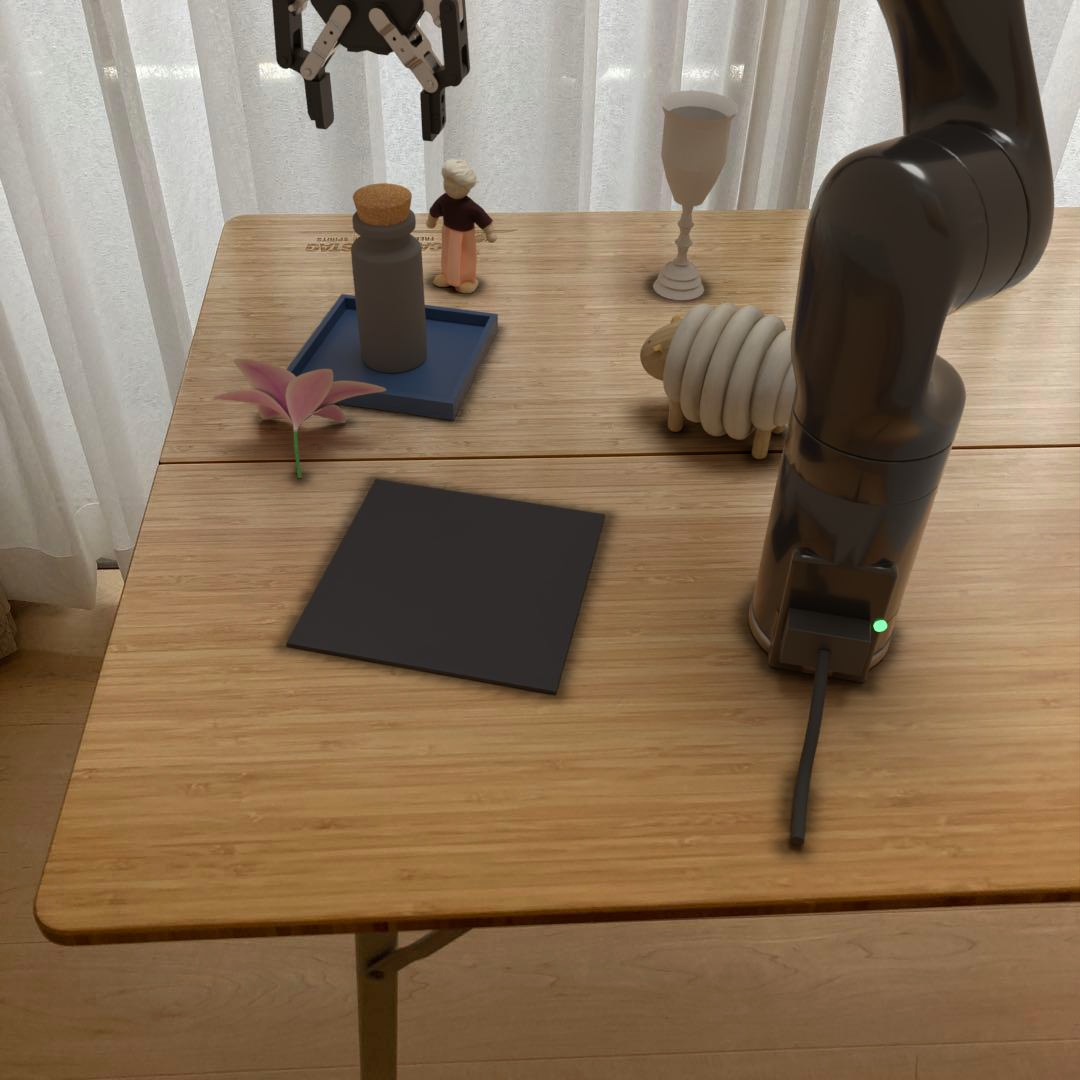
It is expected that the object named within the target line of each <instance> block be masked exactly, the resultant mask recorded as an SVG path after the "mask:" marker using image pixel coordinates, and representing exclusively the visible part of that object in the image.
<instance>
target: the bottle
mask: <svg viewBox="0 0 1080 1080" xmlns="http://www.w3.org/2000/svg"><path fill="white" fill-rule="evenodd" d="M412 199H413V194H412V191H410V189H408V188H407V187H405V186H403V185H400V184H395V183H386V182H385V183H383V182H382V183H381V182H380V183H379V182H378V183H373V184H368V185H364V186H362V187H360V188H358V189H357V190H355V191H354V193H353V194H352V200H353V204H354V207H355V210H356V211H355V212H354V213H353V214H352V217H351V219H352V229H353V231H354V232H355V234H357V235H358V237H357V238H356V239H355V240H354V241H353V243H351V247H350V254H351V268H352V279H353V289H354V296H355V300H356V310H357V320H358V330H359V339H360V348H361V356H362V360H363V362H364V364H365V365H366V366H368V367H369V368H371V369H373V370H375V371H379V372H384V373H400V372H406V371H409V370H412V369H415V368H417V367H418V366H420V365H421V364H422V363H423V362H424V361H425V359H426V357H427V340H426V320H425V305H426V304H425V285H424V267H423V252H422V251H423V250H422V244H421V242H420V241H419V239H417V237H416V236H414V235H412V234H411V233H413V232H414V230H415V229H416V226H417V221H416V220H417V219H416V214H415V213H414V211H413V210H412V209H411V206H412Z"/></svg>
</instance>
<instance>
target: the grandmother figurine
mask: <svg viewBox="0 0 1080 1080" xmlns="http://www.w3.org/2000/svg"><path fill="white" fill-rule="evenodd" d="M440 172H441V173H440V174H441V176H442V178H443V190H444V193H442V194H441V195H440V196H439V197H437V198H436V199H435V200H434V202H433V203H432V205H431V206H430V208H429V211H428V214H427V215H428V216H427V219H426V221H425V226H426V227H427V228H428V229H434V228H436V226H437V223H438V221H439V219H440V218H441V217H442V226H441V255H440V258H441V259H440V271H441V273H438V274H436V275H435V276H434V278H433V280H432V281H433V282H432V283H433V284H434V286H437V287H440V288H446V287H447V288H448V287H450V286H452V287H455V288H454V289H455V291H456V292H458V293H462V294H472V293H473V292H475V291H476V289H477V288H478V286H479V280H478V279H477V263H478V252H477V240H476V239H477V238H476V226H477V227H478V228H479V229H481V230H482V232H483V233H484V234H485V239H486V241H487V243H490V244H493V243H495V242H496V241H497V239H498V235H497V233H496V232H495V227H494V225H493V221H494V220H493V219H492V217H491V216H490V215H489V214H488V213H487V212H486V210H485V209H484V208H483V207H482V206H480V204H478V202H475V201H474V200H473V198H471V197H470V196H468V194H469V193H470V192H471V190H472V189H473V188H474V187H475V186H476V185H477V184H478V183H479V179H478V176H477V174H476V172H475V171H474V169H473V168H472V166H471V165H469V163H468V162H467V161H466V160H464V159H456V158H450V159H447V160H446V161H445V162H444V163H443V164H442V166H441V171H440ZM475 225H476V226H475Z"/></svg>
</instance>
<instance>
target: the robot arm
mask: <svg viewBox="0 0 1080 1080" xmlns="http://www.w3.org/2000/svg"><path fill="white" fill-rule="evenodd" d="M309 2H310V3H311V5H312V7H313V8H314V10H315V12H316V13H317V14H318V15H319V17H320V18H321V20H322V21H323V23H324V24H325V26H324V27H323V28H322V30H321V32H320V33H319V34H318V37H317V39H316V40H315V41H314V43H313V45H312V46H311V50H310V51H309V50H307V49H305V48H304V47H305V46H304V31H303V30H304V29H303V12H305V11H306V9H307V7H308V3H309ZM876 2H877V5H878V8H879V9H880V11H881V14H882V16H883V19H884V21H885V25H886V28H887V30H888V31H887V32H888V33H889V37H890V39H891V43H892V49H893V54H894V57H895V63H896V69H897V77H898V85H899V92H900V101H901V102H900V103H901V114H902V131H903V132H902V134H903V135H900V136H898V137H894V138H890V139H887V140H883V141H880V142H877V143H874V144H870V145H868V146H864V147H862V148H859V149H857V150H854V151H853V152H850V153H848V154H847V155H844V157H842V158H841V159H840V160H839V161H838V162H836V163H835V164H834V165H833V166H832V167H831V169H830V170H829V171H828V173H827V174H826V175H825V177H824V178H823V180H822V182H821V184H820V185H819V188H818V189H817V192H816V195H815V197H814V199H813V202H812V205H811V209H810V211H809V215H808V218H807V222H806V227H805V228H806V229H805V233H804V238H803V242H802V243H803V244H802V249H801V256H800V265H799V273H798V280H797V287H796V294H795V295H796V296H795V303H794V309H793V310H794V311H793V318H792V326H791V329H792V332H791V359H792V366H793V370H794V376H795V381H796V388H795V394H794V399H793V404H792V409H791V414H790V419H789V423H788V424H787V429H786V435H785V439H784V444H783V447H782V453H781V458H780V463H779V468H778V472H777V477H776V482H775V487H774V491H773V496H772V497H773V498H772V502H771V507H770V512H769V518H768V522H767V527H766V531H765V532H766V533H765V537H764V542H763V546H762V551H761V556H760V560H759V561H760V562H759V566H758V570H757V578H756V582H755V587H754V591H753V593H752V596H751V599H750V604H749V609H748V625H749V628H750V631H751V633H752V635H753V637H754V638H755V640H756V642H757V643H758V644H759V646H760V647H761V648H762V649H763V650H764V651H765V652H766V653H767V655H768V661H767V663H768V665H769V666H770V667H772V668H776V669H782V670H787V671H793V672H799V673H806V674H809V675H814V677H813V686H812V693H811V701H810V706H809V714H808V719H807V725H806V730H805V734H804V735H805V736H804V741H803V745H802V750H801V754H800V760H799V765H798V770H797V774H796V775H797V776H796V783H795V789H794V798H793V805H792V806H793V807H792V818H791V819H792V820H791V828H790V838H789V841H790V843H791V844H792V845H795V846H802V845H804V844H805V838H806V827H807V826H806V825H807V811H808V801H809V800H808V799H809V791H810V784H811V778H812V771H813V767H814V762H815V757H816V752H817V748H818V743H819V738H820V733H821V727H822V720H823V715H824V708H825V707H824V706H825V700H826V692H827V685H828V678H835V679H840V680H846V681H850V682H851V681H852V682H857V683H864V682H866V681H867V677H868V674H869V671H870V669H871V668H873V667H874V666H876V665H877V664H878V663H879V662H881V660H882V659H883V658H884V657H885V655H886V654H887V652H888V650H889V647H890V644H891V641H892V639H893V634H894V629H895V624H896V620H897V617H898V615H899V611H900V608H901V606H902V601H903V598H904V595H905V592H906V589H907V586H908V583H909V579H910V577H911V573H912V570H913V568H914V564H915V561H916V559H917V556H918V553H919V550H920V546H921V542H922V539H923V536H924V533H925V531H926V527H927V525H928V522H929V518H930V516H931V513H932V509H933V506H934V503H935V499H936V498H937V497H936V496H937V493H938V491H939V487H940V485H941V482H942V478H943V477H944V474H945V470H946V467H947V463H948V461H949V457H950V454H951V451H952V449H953V445H954V442H955V440H956V436H957V433H958V430H959V427H960V424H961V421H962V418H963V414H964V410H965V408H966V402H967V401H966V400H967V391H966V386H965V382H964V380H963V378H962V376H961V375H960V373H959V372H958V370H957V369H956V368H955V367H954V366H953V365H952V364H951V363H950V362H949V361H948V360H946V359H945V358H944V357H942V356H940V355H939V354H937V353H938V349H939V343H940V340H941V336H942V333H943V329H944V326H945V323H946V320H947V318H948V316H951V315H953V314H956V313H958V312H960V311H963V310H966V309H968V308H970V307H973V306H975V305H978V304H980V303H983V302H986V301H987V300H990V299H992V298H994V297H997V296H999V295H1002V294H1003V293H1006V292H1007V291H1009V290H1012V289H1013V288H1015V287H1016V286H1017V285H1019V284H1020V283H1021V282H1023V281H1024V280H1025V279H1026V278H1028V277H1029V276H1030V275H1031V273H1032V272H1033V271H1034V270H1035V268H1036V267H1037V266H1038V264H1039V263H1040V261H1041V260H1042V257H1043V255H1044V253H1045V251H1046V249H1047V246H1048V244H1049V242H1050V237H1051V235H1052V229H1053V224H1054V215H1055V186H1054V185H1055V184H1054V173H1053V164H1052V158H1051V151H1050V144H1049V138H1048V133H1047V127H1046V122H1045V117H1044V112H1043V111H1044V110H1043V105H1042V100H1041V99H1042V98H1041V95H1040V88H1039V84H1038V77H1037V72H1036V66H1035V62H1034V56H1033V50H1032V44H1031V38H1030V33H1029V25H1028V19H1027V12H1026V6H1025V0H876ZM271 5H272V6H271V7H272V18H273V33H274V46H275V58H276V63H277V65H278V66H279V67H280V68H281V69H283V70H288V69H291V70H292V71H294V72H296V73H298V74H299V75H300V76H301V77H302V79H303V82H304V83H303V84H304V91H305V92H304V93H305V100H306V102H305V103H306V109H307V114H308V117H309V119H310V121H314V124H315V128H316V129H319V130H328V129H329V127H331V126H332V125H333V123H334V121H335V111H334V102H333V92H332V90H333V89H332V82H331V73H330V72H327V71H326V68H327V66H328V65H329V63H330V62H331V60H332V59H333V57H334V56H335V54H336V53H337V51H338V50H339V48H340V47H341V46H342V47H343V48H345V49H346V51H347V52H349V53H362V52H366V51H367V52H370V53H372V54H376V55H380V56H389V55H390V54H392V53H394V54H395V55H396V56H397V58H398V59H399V62H401V64H402V65H403V66H404V67H405V68H406V69H409V71H410V72H412V75H414V77H415V78H416V80H417V82H418V83H419V84H420V85H421V87H422V90H421V91H420V93H419V101H420V118H421V119H420V120H421V121H420V122H421V140H422V141H424V142H432V143H433V142H434V141H435V139H436V138H437V137H438V135H440V133H441V132H443V130H444V128H445V127H446V124H447V109H446V108H447V107H446V88H449V87H454V88H455V87H458V86H460V85H461V84H462V82H463V80H464V79H465V77H467V76H468V75H469V73H470V71H471V61H470V50H469V49H470V47H469V33H468V20H467V8H466V0H271ZM425 12H427V13H429V15H430V16H431V18H432V22H433V24H434V25H435V26H436V27H437V28H438V29H440V32H441V44H442V53H443V64H442V62H441V60H440V59H439V58H438V57H437V55H436V53H435V52H434V51H433V49H432V43H431V41H430V40H429V39H428V37H427V35H426V34H425V33H424V32H423V30H422V29H421V27H420V25H419V24H418V23H419V22H420V20H421V19H422V16H423V15H424V14H425Z"/></svg>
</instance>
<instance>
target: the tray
mask: <svg viewBox="0 0 1080 1080" xmlns="http://www.w3.org/2000/svg"><path fill="white" fill-rule="evenodd" d="M425 320H426V340H427V357H426V359H425V361H424V362H423V363H422V364H421V365H420V366H418V367H417V368H415V369H412V370H409V371H406V372H400V373H384V372H379V371H375V370H373V369H371V368H369V367H368V366H366V365H365V364H364V362H363V360H362V356H361V348H360V339H359V330H358V320H357V310H356V300H355V294H354V295H353V294H346V293H341V294H340V296H339V297H338V299H336V301H335V302H334V304H333V305H332V307H331V308H330V309H329V310H328V312H327V313H326V315H324V318H322V320H321V321H320V323H318V326H317V327H316V328H315V329H314V331H313V332H312V334H311V335H310V336H309V338H308V339H307V341H306V342H305V343H304V344H303V346H302V347H301V348H300V350H299V352H298V353H297V354H296V355H295V357H294V358H293V359H292V361H291V362H290V364H288V366H287V367H286V368H285V369H286V370H288V371H289V372H291V373H292V374H294V375H295V376H296V377H297V376H299V375H301V374H304V373H307V372H310V371H315V370H319V369H331V370H332V371H333V382H335V381H357V382H363V383H368V384H373V385H377V386H380V387H384V388H385V389H387V390H386V391H382V392H377V393H370V394H364V395H358V396H354V397H350V398H347V399H344V400H341V401H338V402H336V403H335V404H337V405H338V404H339V405H346V406H352V407H359V408H366V409H373V410H381V411H387V412H394V413H399V414H407V415H414V416H415V415H416V416H421V417H427V418H433V419H435V418H436V419H442V420H448V421H449V420H450V421H454V420H455V418H456V416H457V415H458V412H459V410H460V409H461V406H462V404H463V402H464V400H465V399H466V397H467V394H468V392H469V390H470V388H471V386H472V384H473V382H474V379H475V378H476V376H477V374H478V372H479V370H480V367H481V365H482V363H483V361H484V359H485V357H486V355H487V353H488V351H489V349H490V347H491V345H492V343H493V341H494V339H495V337H496V334H497V332H498V331H499V314H498V313H494V312H493V313H491V312H486V311H477V310H470V309H463V308H454V307H446V306H438V305H431V304H425Z"/></svg>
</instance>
